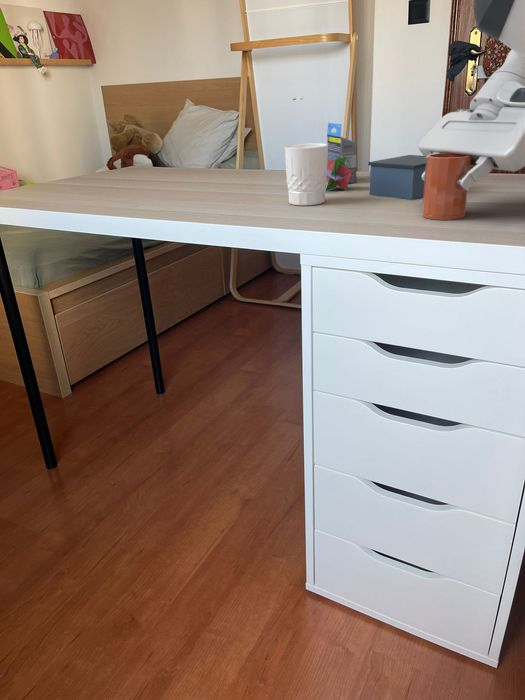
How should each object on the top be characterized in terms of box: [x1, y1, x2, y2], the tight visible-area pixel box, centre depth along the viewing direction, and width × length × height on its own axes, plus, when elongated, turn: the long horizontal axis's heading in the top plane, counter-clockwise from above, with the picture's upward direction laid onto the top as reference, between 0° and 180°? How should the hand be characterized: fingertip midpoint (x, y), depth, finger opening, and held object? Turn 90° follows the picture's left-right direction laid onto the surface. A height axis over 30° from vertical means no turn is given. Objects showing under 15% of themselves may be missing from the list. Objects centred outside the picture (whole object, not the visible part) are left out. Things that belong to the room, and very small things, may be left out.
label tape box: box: [326, 121, 358, 184], centre depth 117 cm, size 9×4×12 cm, turn 13°
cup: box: [421, 153, 472, 221], centre depth 81 cm, size 6×6×9 cm
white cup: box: [283, 142, 328, 207], centre depth 97 cm, size 8×8×10 cm
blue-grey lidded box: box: [367, 154, 426, 200], centre depth 102 cm, size 13×11×6 cm
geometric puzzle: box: [325, 156, 353, 192], centre depth 108 cm, size 7×7×8 cm
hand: (443, 183), depth 81 cm, fingers closed on cup, 6 cm apart
